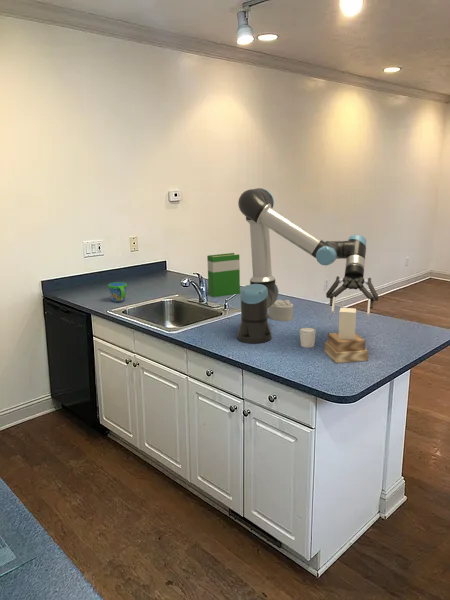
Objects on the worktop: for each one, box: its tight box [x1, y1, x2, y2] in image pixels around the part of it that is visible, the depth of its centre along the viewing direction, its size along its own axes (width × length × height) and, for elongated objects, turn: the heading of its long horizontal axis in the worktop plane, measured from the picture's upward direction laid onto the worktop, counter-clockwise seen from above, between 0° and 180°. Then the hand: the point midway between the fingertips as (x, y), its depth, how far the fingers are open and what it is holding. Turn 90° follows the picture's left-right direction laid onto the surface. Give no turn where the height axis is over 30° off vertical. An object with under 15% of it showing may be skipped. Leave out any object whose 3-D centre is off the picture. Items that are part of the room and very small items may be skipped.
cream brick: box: [338, 307, 357, 340], centre depth 195 cm, size 6×6×11 cm
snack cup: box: [107, 281, 128, 303], centre depth 290 cm, size 16×10×10 cm
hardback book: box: [206, 252, 241, 298], centre depth 299 cm, size 18×7×24 cm, turn 117°
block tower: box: [323, 332, 369, 364], centre depth 197 cm, size 13×13×8 cm
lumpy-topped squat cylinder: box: [268, 299, 294, 322], centre depth 250 cm, size 10×13×9 cm
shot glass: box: [299, 327, 317, 348], centre depth 210 cm, size 7×7×7 cm
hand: (350, 313), depth 195 cm, fingers open, 13 cm apart
